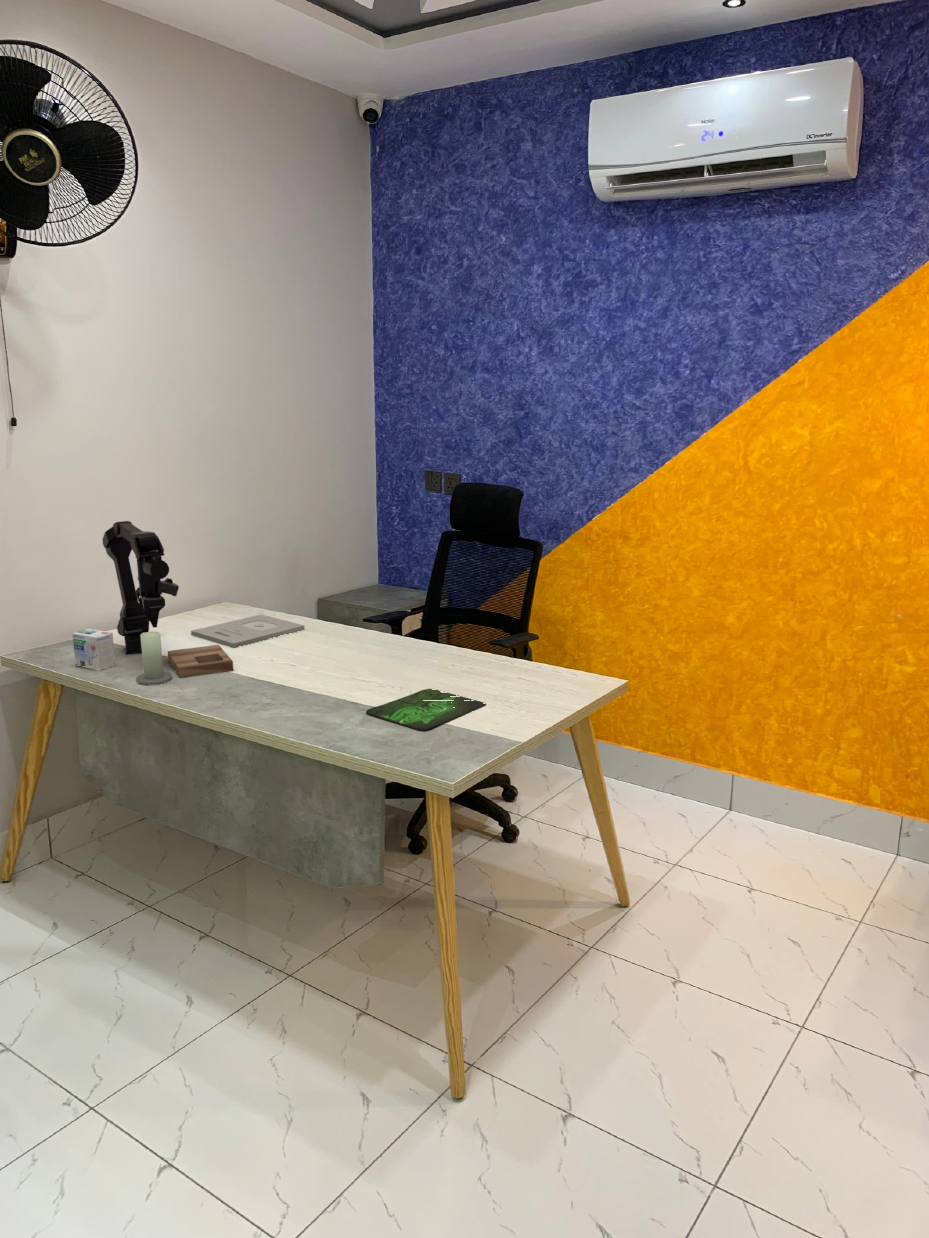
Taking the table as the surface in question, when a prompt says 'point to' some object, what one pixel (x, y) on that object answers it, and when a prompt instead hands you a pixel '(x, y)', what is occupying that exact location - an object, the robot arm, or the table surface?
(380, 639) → the table surface
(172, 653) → the puzzle board
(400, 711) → the mouse mat
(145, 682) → the coaster
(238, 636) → the award plaque
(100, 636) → the light bulb box
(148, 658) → the peg
